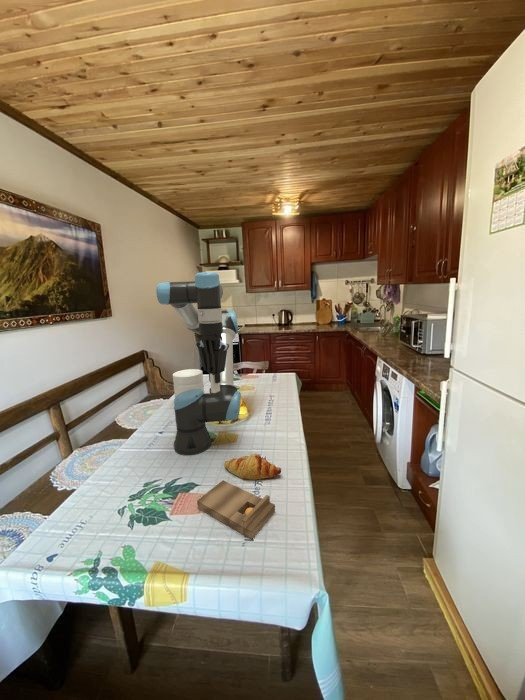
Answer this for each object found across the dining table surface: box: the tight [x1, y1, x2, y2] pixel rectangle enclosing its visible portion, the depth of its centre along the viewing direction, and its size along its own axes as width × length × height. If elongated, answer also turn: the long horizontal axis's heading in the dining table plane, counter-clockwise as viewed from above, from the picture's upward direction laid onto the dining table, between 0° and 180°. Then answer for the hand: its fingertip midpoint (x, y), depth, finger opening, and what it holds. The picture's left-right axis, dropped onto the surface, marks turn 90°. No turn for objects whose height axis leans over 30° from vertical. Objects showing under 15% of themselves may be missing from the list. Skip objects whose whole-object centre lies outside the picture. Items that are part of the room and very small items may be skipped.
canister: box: [172, 368, 205, 398], centre depth 159 cm, size 16×16×20 cm
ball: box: [244, 508, 253, 516], centre depth 79 cm, size 3×3×3 cm
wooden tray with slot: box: [196, 480, 276, 540], centre depth 82 cm, size 20×11×4 cm, turn 55°
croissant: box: [223, 453, 282, 481], centre depth 99 cm, size 21×10×8 cm, turn 74°
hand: (215, 391), depth 96 cm, fingers closed
